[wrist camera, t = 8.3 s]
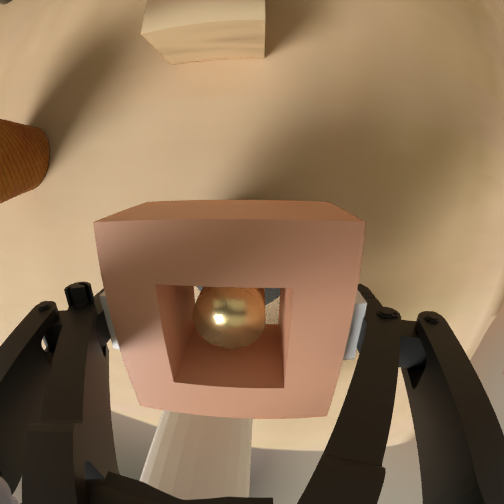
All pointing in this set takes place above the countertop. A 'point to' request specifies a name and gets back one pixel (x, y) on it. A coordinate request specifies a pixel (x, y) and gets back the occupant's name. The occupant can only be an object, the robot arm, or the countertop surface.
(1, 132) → the disposable coffee cup
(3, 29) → the countertop surface
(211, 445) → the wine bottle
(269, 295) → the light bulb
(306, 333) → the square frame block
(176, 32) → the stand
